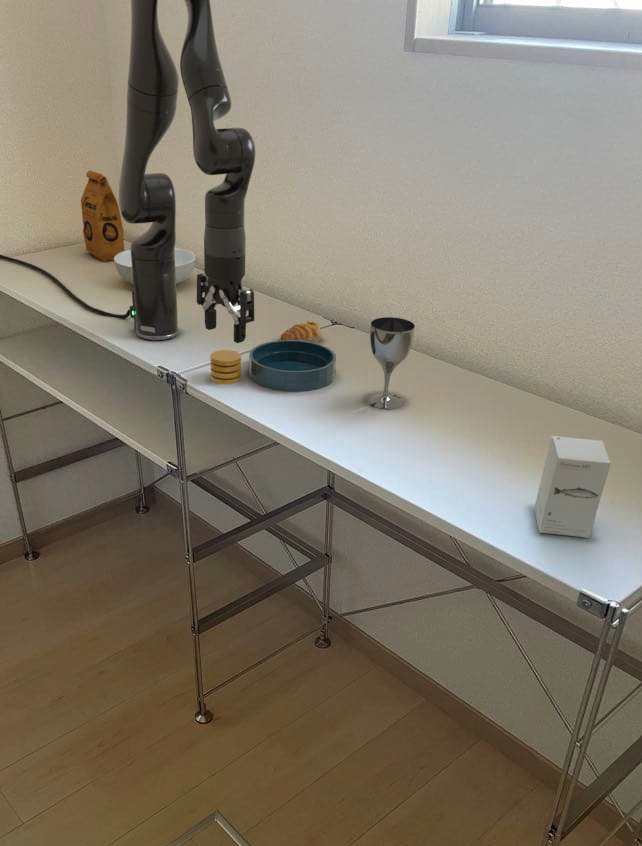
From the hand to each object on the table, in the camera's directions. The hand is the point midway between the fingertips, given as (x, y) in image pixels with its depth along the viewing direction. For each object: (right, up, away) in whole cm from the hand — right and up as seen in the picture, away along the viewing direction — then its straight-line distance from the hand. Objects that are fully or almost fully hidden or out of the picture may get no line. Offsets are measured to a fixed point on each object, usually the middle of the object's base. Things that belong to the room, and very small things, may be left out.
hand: (224, 335), depth 160 cm
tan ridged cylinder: (0, -8, +5) cm, 9 cm away
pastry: (+16, +4, +24) cm, 29 cm away
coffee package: (-39, +42, +77) cm, 96 cm away
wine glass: (+31, -13, -2) cm, 33 cm away
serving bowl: (-22, +28, +57) cm, 67 cm away
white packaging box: (+52, -37, -37) cm, 74 cm away
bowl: (+13, -7, +7) cm, 16 cm away
